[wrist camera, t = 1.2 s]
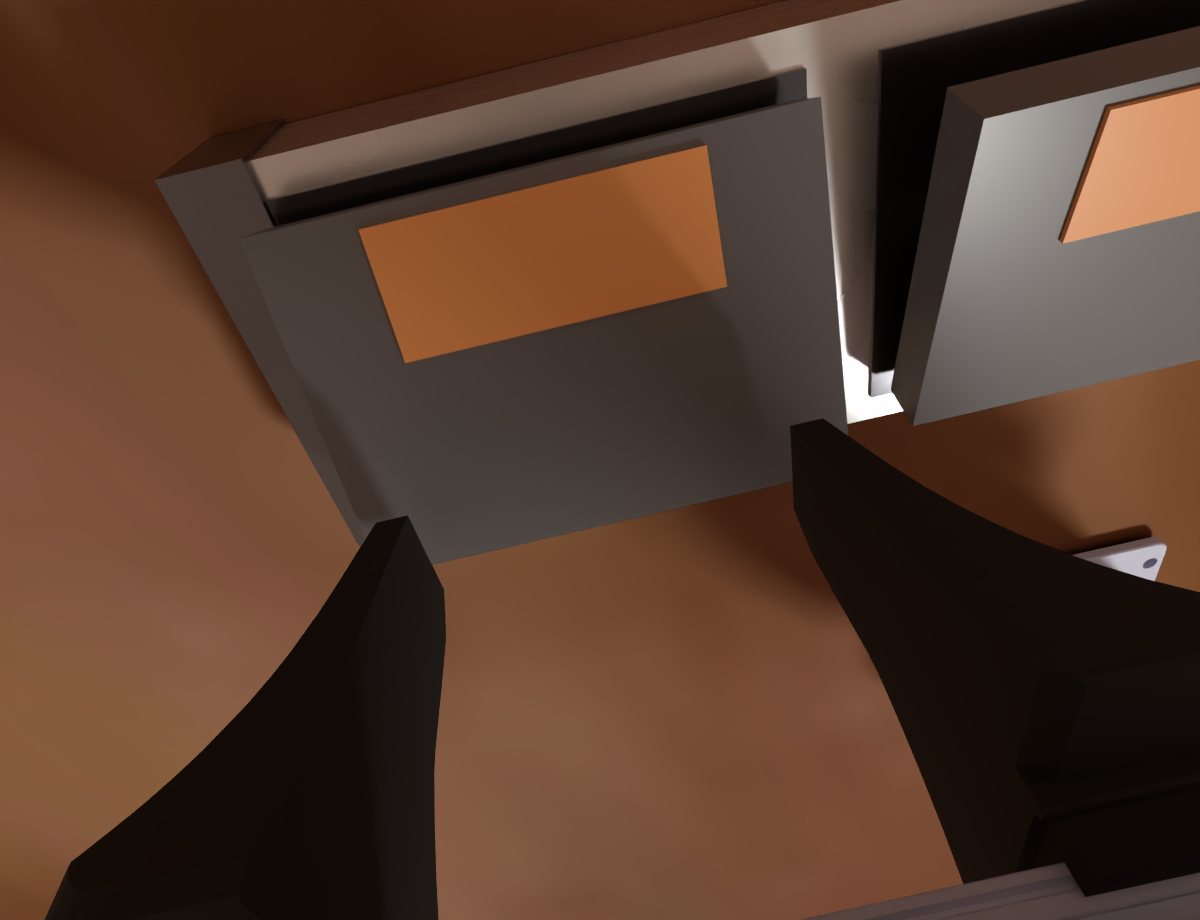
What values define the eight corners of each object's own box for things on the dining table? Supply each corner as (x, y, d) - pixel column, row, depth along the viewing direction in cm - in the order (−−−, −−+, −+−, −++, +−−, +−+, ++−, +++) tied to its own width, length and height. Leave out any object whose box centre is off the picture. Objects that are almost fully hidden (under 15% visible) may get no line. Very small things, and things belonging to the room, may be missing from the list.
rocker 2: (1297, 278, 17) (1361, 325, 16) (881, 376, 18) (914, 429, 16) (1531, -71, 12) (1652, -40, 11) (933, 75, 12) (987, 121, 11)
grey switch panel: (1672, 165, 20) (1844, 200, 18) (375, 469, 21) (358, 545, 18) (1989, -304, 15) (2308, -351, 12) (209, 137, 16) (153, 179, 13)
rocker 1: (821, 436, 17) (853, 470, 15) (395, 535, 17) (380, 579, 15) (788, 100, 14) (823, 96, 12) (272, 226, 14) (236, 239, 12)
